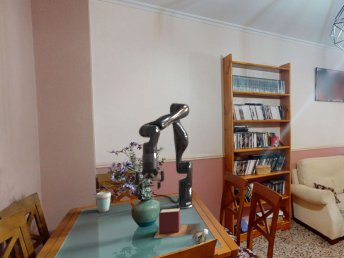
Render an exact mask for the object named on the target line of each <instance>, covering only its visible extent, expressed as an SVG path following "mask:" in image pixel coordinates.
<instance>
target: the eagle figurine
mask: <svg viewBox="0 0 344 258" xmlns="http://www.w3.org/2000/svg"><path fill="white" fill-rule="evenodd" d="M208 234H209V229H207V228H204V229H203V230H202V229H198V230H197V229H196V232H195V233H194V234H192V238H191V239H192V240H195V241H196V242H197V243H196V246H198V245H197V244H200V243H202V242H205V243H206V242H207V235H208Z"/></svg>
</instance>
